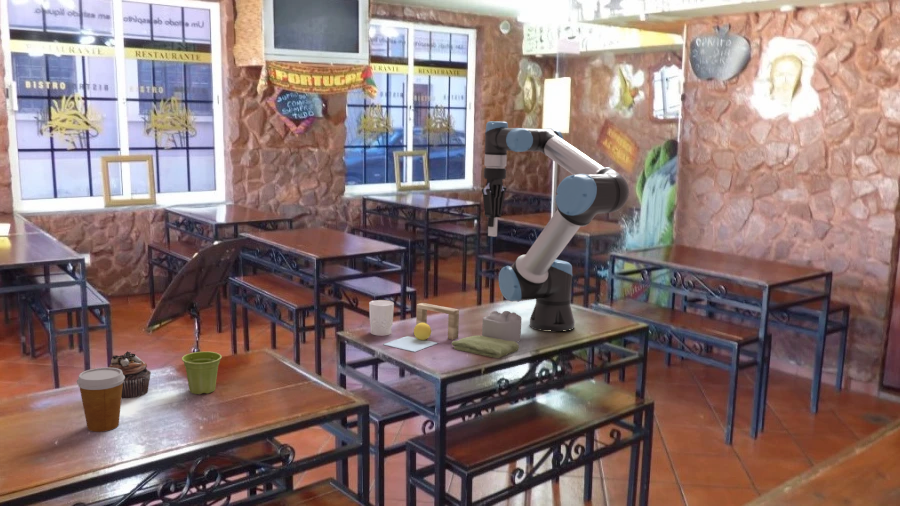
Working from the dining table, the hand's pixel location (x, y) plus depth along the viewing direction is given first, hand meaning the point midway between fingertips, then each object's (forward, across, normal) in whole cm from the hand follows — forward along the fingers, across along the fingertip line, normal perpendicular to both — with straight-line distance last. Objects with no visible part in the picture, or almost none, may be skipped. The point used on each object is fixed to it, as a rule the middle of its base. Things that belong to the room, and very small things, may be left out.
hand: (492, 235), depth 269 cm
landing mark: (+29, +43, -2) cm, 52 cm away
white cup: (+30, +39, -17) cm, 52 cm away
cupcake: (+30, +121, -29) cm, 128 cm away
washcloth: (+30, +32, +18) cm, 48 cm away
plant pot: (+30, +109, -17) cm, 114 cm away
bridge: (+29, +29, -2) cm, 41 cm away
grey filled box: (+30, +19, +17) cm, 39 cm away
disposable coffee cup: (+30, +137, -15) cm, 141 cm away
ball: (+27, +37, -2) cm, 46 cm away
